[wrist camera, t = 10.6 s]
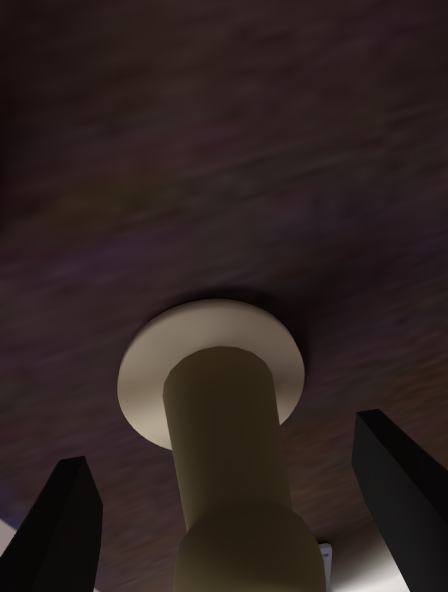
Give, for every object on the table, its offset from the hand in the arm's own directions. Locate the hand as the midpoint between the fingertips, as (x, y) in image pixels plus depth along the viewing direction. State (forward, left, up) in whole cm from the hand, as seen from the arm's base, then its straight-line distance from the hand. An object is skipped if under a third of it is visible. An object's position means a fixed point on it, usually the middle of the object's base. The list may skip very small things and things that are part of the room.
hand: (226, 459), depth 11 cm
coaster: (-6, 0, -10) cm, 12 cm away
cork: (-6, 0, -10) cm, 11 cm away
